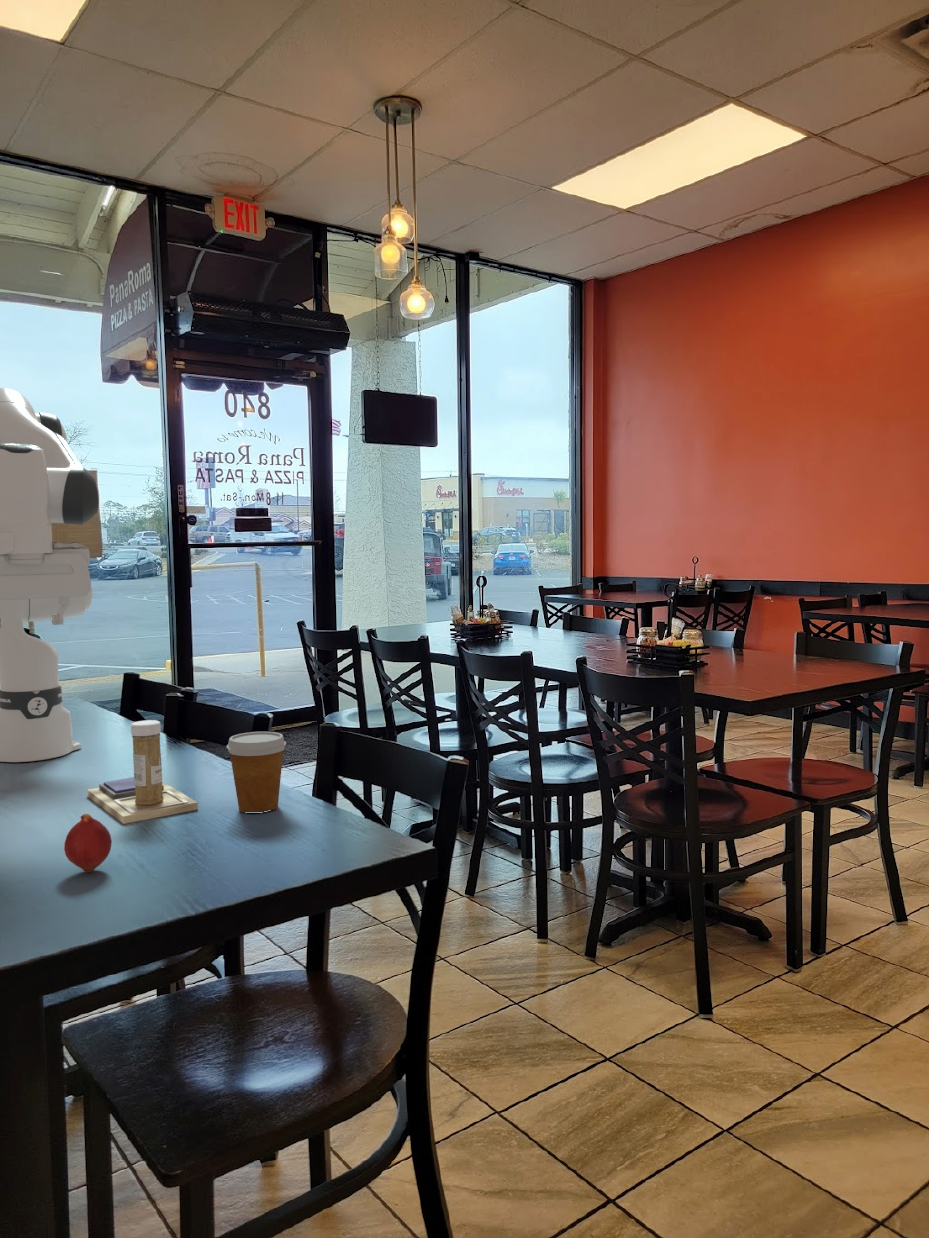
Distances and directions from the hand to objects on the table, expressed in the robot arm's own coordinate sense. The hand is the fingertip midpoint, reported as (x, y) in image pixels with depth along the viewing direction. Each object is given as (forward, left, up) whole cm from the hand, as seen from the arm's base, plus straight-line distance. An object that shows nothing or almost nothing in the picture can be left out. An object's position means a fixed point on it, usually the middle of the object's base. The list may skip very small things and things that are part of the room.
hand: (27, 626), depth 148 cm
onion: (+38, -2, -31) cm, 49 cm away
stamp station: (+10, +14, -30) cm, 35 cm away
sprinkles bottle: (+15, +14, -29) cm, 36 cm away
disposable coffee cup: (+26, +28, -31) cm, 49 cm away
